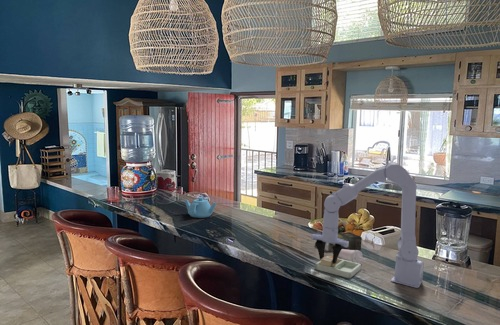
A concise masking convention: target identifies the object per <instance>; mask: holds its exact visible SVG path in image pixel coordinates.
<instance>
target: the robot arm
mask: <svg viewBox="0 0 500 325" xmlns="http://www.w3.org/2000/svg"><path fill="white" fill-rule="evenodd" d="M387 180H389V181H390V182H392V183H393V184H394V183H395V184H396V185H397V186H399V187H400V188H401V212H400V213H401V214H400V232H399V233H400V234H399V238H398V240H397V243H396V247H397V249H398V252H397V253H396V254H395V255H396V256H395V267H394V275H393V277H392V278H391V279H390V281H391V282H393V283H397V284H400V285H404V286H408V287H412V288H415V289H418V288H420V286H421V285H422V284H423V281H424V280H423V277H424V264H425V263H424V261H422V260H420V259H418V256H419V248H418V247H417V246H418V245H417V240H416V239H417V238H416V214H417V213H416V211H417V210H416V209H417V207H416V206H417V184H416V182H415V180H414V179H413V177H412V176H411V175H410V173H409V172H408V170H407V169H406V168H404V166H402V165H400V164H399V163H397V162H395V161H390V162H388V163H386V164H385V165H382V166H380V167H378V168H377V169H375V170H373V171H372V172H370V173H369V174H368V175H366V176H365V177H362V178H361V179H360V180H358V181H357V182H356V183H354V184H352V183H347V184H343V185H342V188H340V189H338V190H336V191H332V192H331V194H330V195H328V196H327V197H326V198H325V200H324V202H323V205H324V210H323V212H324V213H323V218H322V219H323V221H322V233H321V234H317V233H311V237H310V240H312V241H314V240H315V242H314V246H315V245H316V246H315V248H316V249H317V252H318V256H319V261H320V260H321V259H322V258H323V257H325V251H326V250H325V244H326V242H327V243H331V244H335V245H334V246H333V251H332V256H333V264H335V263H336V262H337V258H338V255H339V253H340V251H341V250H342V248H343V246H344V247H346V248H347V247H348V246H349V241H345V240H342V239H339V238H337V236H338V234H339V220H340V215H339V210H340V208H341V207H342V206H345V205H347V204H348V203H350V202H352V201H353V200H355V199H356V198H357V197H358V195H359V192H361V191H363V190H364V189H367V188H368V187H369V186H371V185H374V184H375V183H376V182H386V181H387Z"/></svg>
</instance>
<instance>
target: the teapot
mask: <svg viewBox="0 0 500 325" xmlns="http://www.w3.org/2000/svg"><path fill="white" fill-rule="evenodd" d="M208 199H209V198H205V199H204V197H201V196H200V197H197V199H194V200H193V201H192V202H191V203H190V201H189V199H184V203H185V206H186V209H187V214H188V215H189V216H190V217H192V218H198V219H204V218H209V217H211V216H212V213H214V211H215V208H216V206H217V202H213V203H211V204H212V205H211V204H210V202H209V200H208Z"/></svg>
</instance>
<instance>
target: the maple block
mask: <svg viewBox="0 0 500 325" xmlns="http://www.w3.org/2000/svg"><path fill="white" fill-rule="evenodd" d="M320 264H321V265H325V266H329V267H334V264H333V258H329V257H327V256H324V257H323V258H322V259H321V262H320Z"/></svg>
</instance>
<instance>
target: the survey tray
mask: <svg viewBox="0 0 500 325" xmlns="http://www.w3.org/2000/svg"><path fill="white" fill-rule="evenodd" d="M331 256H332V255H331ZM331 256H330V255H326V257H329V258H330V257H331ZM320 262H321V260H320V259H319V261H317V262H316V263H315V264H314V270H317V271H321V272H325V273H329V274H333V275H334V276H335V275H336V276H339V277H343V278H347V279H352V278H353V277H354V276H355V275H356V274H357V273H359V272H360V271H361V270H362V263H361V264H359V263H355V262H351V261H347V260H343V259H340V258H337V264H336V265H334V267H329V266H325V265H321V264H320Z"/></svg>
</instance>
